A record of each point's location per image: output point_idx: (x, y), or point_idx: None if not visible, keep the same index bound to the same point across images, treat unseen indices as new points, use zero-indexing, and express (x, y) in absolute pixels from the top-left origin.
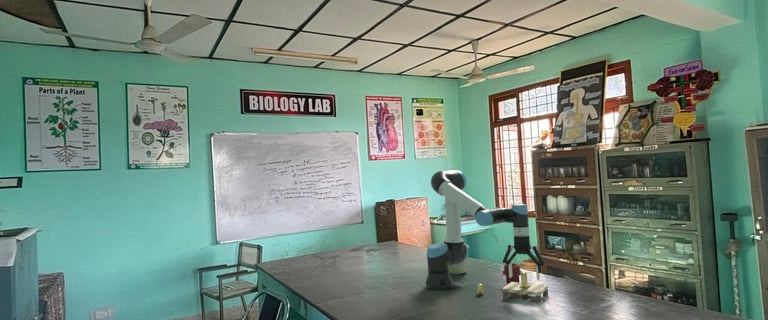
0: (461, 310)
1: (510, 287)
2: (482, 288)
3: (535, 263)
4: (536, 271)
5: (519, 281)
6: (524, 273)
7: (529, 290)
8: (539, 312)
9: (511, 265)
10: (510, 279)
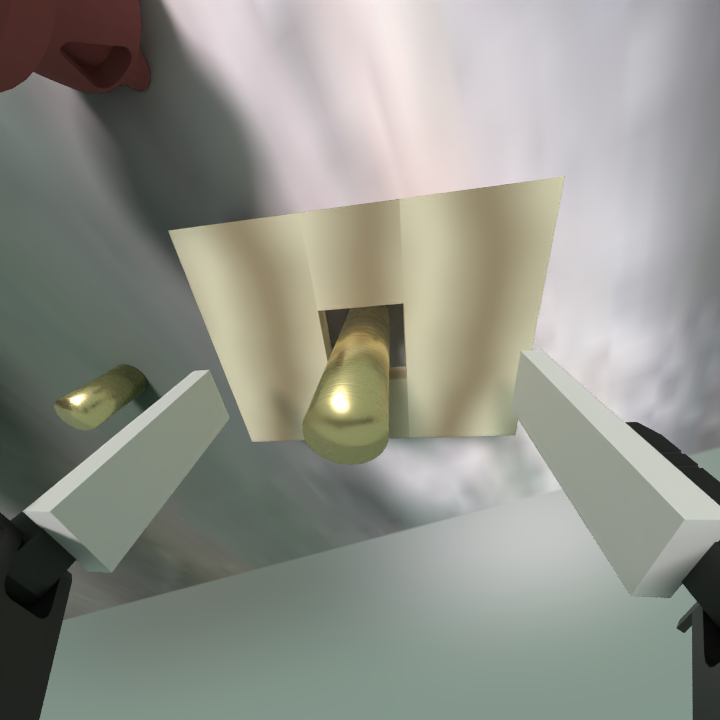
0: (247, 551)
1: (279, 402)
2: (117, 403)
3: (694, 702)
4: (572, 498)
5: None
6: (371, 459)
7: (431, 417)
8: (508, 494)
9: (95, 490)
10: (46, 67)
